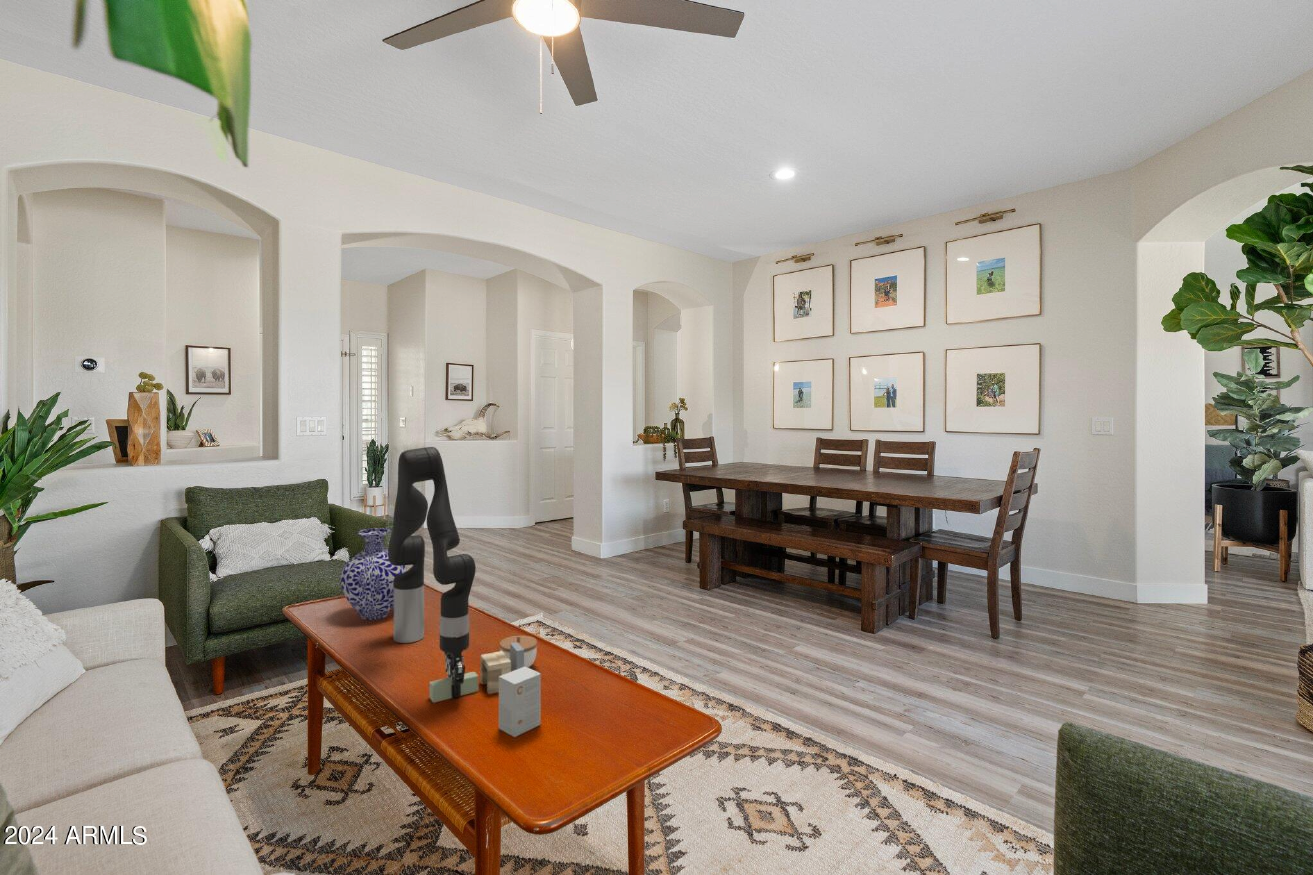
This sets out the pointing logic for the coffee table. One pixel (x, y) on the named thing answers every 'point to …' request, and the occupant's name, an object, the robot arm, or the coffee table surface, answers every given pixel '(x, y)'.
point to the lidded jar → (526, 643)
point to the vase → (371, 577)
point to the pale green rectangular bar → (444, 687)
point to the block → (494, 669)
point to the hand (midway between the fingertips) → (454, 693)
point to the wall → (516, 656)
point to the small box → (519, 701)
